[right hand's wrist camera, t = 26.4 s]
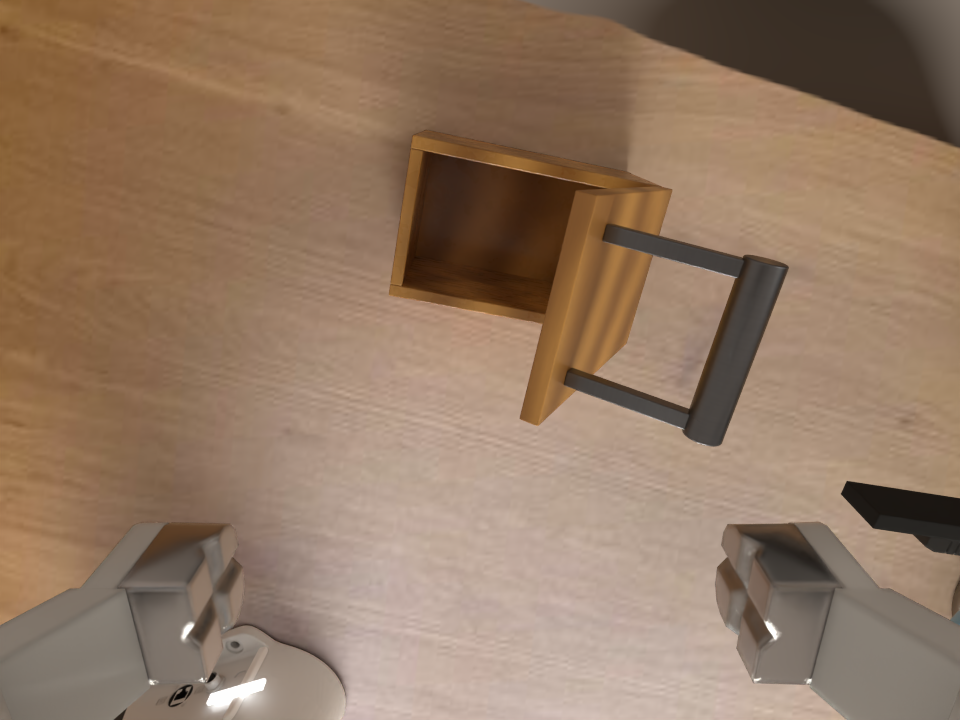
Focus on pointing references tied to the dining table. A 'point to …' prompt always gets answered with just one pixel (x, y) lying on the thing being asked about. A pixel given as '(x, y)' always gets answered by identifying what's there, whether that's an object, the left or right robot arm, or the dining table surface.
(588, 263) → the lid
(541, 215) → the chest
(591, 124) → the dining table surface
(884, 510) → the left robot arm
